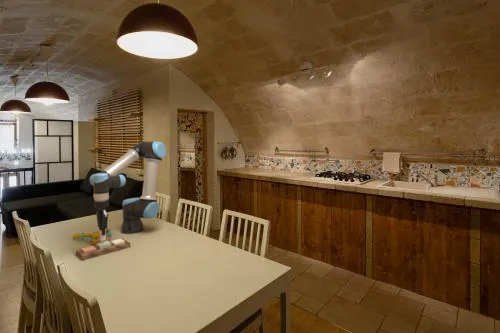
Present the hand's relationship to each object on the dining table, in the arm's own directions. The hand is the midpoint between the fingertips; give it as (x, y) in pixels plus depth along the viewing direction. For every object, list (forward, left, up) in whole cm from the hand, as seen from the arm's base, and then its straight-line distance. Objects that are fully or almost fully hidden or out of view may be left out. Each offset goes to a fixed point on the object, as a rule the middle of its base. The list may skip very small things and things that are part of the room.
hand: (103, 240), depth 164 cm
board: (0, 0, -7) cm, 7 cm away
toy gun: (+3, -20, -6) cm, 21 cm away
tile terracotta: (+8, 0, -5) cm, 9 cm away
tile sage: (0, 0, -4) cm, 4 cm away
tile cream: (-8, 0, -5) cm, 10 cm away
